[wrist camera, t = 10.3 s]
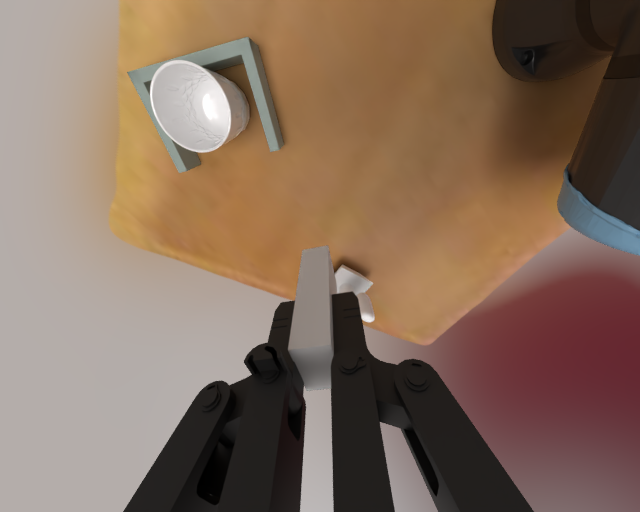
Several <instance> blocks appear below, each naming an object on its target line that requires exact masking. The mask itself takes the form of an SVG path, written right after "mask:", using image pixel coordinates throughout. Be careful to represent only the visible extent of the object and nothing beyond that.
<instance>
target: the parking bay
mask: <svg viewBox="0 0 640 512" xmlns="http://www.w3.org/2000/svg"><path fill="white" fill-rule="evenodd" d="M173 60H185V61H189V62H192V63H195V64H197V65H199V66H202V67H204V68H206V69H209V70H211V71H217V70H220V69H224V68H228V67H231V66H235V65H238V64H242V63H244V65H245V68H246V71H247V75H248V78H249V81H250V85H251V88H252V91H253V95H254V98H255V101H256V105H257V108H258V111H259V115H260V118H261V122H262V125H263V128H264V132H265V135H266V138H267V142H268V145H269V148H270V152H272V151H277V150H280V149H281V148H282V146H283V145H284V142H283V139H282V135H281V131H280V127H279V124H278V120H277V116H276V112H275V109H274V105H273V101H272V97H271V93H270V90H269V86H268V82H267V78H266V75H265V71H264V67H263V63H262V60H261V56H260V52H259V48H258V45H257V44H255V43H254V42H253V41H252V40H251V39H250V38H249V37H245V38H242V39H238V40H235V41H232V42H228V43H225V44H221V45H218V46H215V47H211V48H208V49H204V50H201V51H198V52H194V53H191V54H187V55H184V56H181V57H177V58H174V59H170V60H167V61H164V62H160V63H157V64H153V65H150V66H147V67H143V68H140V69H136V70H133V71H130V72H127V73H128V75H129V77H130V79H131V81H132V82H133V84H134V86H135V88H136V90H137V92H138V94H139V96H140V98H141V100H142V102H143V104H144V106H145V108H146V110H147V111H148V113H149V115H150V117H151V119H152V121H153V123H154V125H155V127H156V129H157V131H158V133H159V135H160V137H161V139H162V140H163V142H164V144H165V146H166V148H167V150H168V152H169V154H170V156H171V158H172V160H173V162H174V164H175V166H176V168H177V169H178V171H179V173H181V172H185V171H188V170H190V169H192V168H194V167H196V166H198V165H200V164H201V162H200V160H199V158H198V155H197V153H196V152H194V151H191V150H188V149H186V148H184V147H182V146H180V145H178V144H177V143H176V142H174V141H173V140H172V139H171V138H170V137H169V136H168V135H167V134H166V133H165V132H164V130H163V129H162V128H161V126H160V125H159V123H158V121H157V119H156V117H155V115H154V112H153V109H152V106H151V101H150V86H151V81H152V78H153V76H154V74H155V72H156V71H157V70H158V69H159V68H160V67H161V66H162V65H163V64H165V63H167V62H169V61H173Z"/></svg>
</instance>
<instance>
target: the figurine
mask: <svg viewBox="0 0 640 512" xmlns="http://www.w3.org/2000/svg"><path fill="white" fill-rule="evenodd" d="M335 278H336V285H337V294H338V293H345V292H351V291H353V293H354V294H355V295H356V296H357V298H358V300H359V306H360V312H361V318H362V319H363V320H364V321H366V322H372V321H374V319H375V316H374V311H373V307H372V303H371V300H370V298H369V296H368V295H367V294H365V292H366V291H367V290H368V289H369V288H370V287H371V285H372V284H373V283H372V282H371V281H370V280H368V279H367V278H365V277H364V276H363V275H361V274H360V273H358V272H356V271H354V270H352V269H350V268H348V267H346V266H345V265H343V264H342V265H341V266H340V267H339V269H338V270H337V271H336V272H335Z"/></svg>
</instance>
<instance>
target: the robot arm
mask: <svg viewBox="0 0 640 512" xmlns="http://www.w3.org/2000/svg"><path fill="white" fill-rule="evenodd" d="M493 42H494V48H495V52H496V55H497V58H498V60H499V62H500V64H501V65H502V67H503V68H504V69H505V70H506V72H508V73H509V74H510V75H511V76H513V77H515V78H517V79H519V80H522V81H527V82H539V81H549V80H556V79H560V78H564V77H567V76H570V75H572V74H575V73H577V72H579V71H581V70H583V69H585V68H587V67H589V66H591V65H593V64H595V63H597V62H599V61H601V60H603V59H605V58H607V57H609V56H611V55H612V58H611V60H610V63H609V66H608V68H607V71H606V73H605V76H604V78H603V80H602V82H601V85H600V87H599V90H598V93H597V95H596V98H595V100H594V103H593V105H592V108H591V111H590V113H589V116H588V118H587V121H586V124H585V126H584V129H583V131H582V134H581V137H580V139H579V142H578V144H577V146H576V149H575V151H574V154H573V156H572V159H571V161H570V163H569V164H568V165H567V167H566V169H565V171H564V175H563V177H564V181H563V184H562V188H561V191H560V194H559V197H558V201H557V207H558V211H559V213H560V214H561V216H562V217H563V218H564V219H565V221H566V223H568V224H569V225H570V226H571V227H572V228H574V229H575V230H577V231H578V232H580V233H582V234H583V235H585V236H587V237H589V238H591V239H593V240H595V241H597V242H600V243H602V244H604V245H607V246H610V247H612V248H615V249H618V250H621V251H625V252H628V253H632V254H635V255H640V0H497V3H496V7H495V12H494V19H493ZM244 363H245V365H246V366H247V368H248V369H249V371H250V372H251V374H252V375H251V376H249V377H247V378H245V379H243V380H241V381H238V382H236V383H234V384H232V385H228V384H227V383H226V382H224V381H215V382H213V383H210V384H208V385H207V386H206V387H204V388H203V389H202V390H201V391H200V392H199V394H198V395H197V396H196V398H195V399H194V401H193V402H192V404H191V406H190V407H189V409H188V410H187V412H186V413H185V415H184V417H183V418H182V420H181V421H180V423H179V424H178V426H177V428H176V429H175V431H174V432H173V434H172V435H171V437H170V439H169V440H168V442H167V444H166V445H165V447H164V448H163V450H162V451H161V453H160V454H159V456H158V458H157V459H156V461H155V463H154V464H153V466H152V467H151V469H150V470H149V472H148V473H147V475H146V477H145V478H144V480H143V481H142V483H141V484H140V486H139V488H138V489H137V491H136V492H135V494H134V496H133V497H132V499H131V500H130V502H129V504H128V505H127V507H126V508H125V510H124V511H123V512H300V500H301V483H302V466H303V447H304V431H305V414H306V413H305V412H306V406H305V405H306V404H305V400H304V398H303V388H304V386H305V388H306V390H307V391H311V390H321V389H331V402H332V403H331V406H332V453H333V498H334V499H333V500H334V512H395V510H394V505H393V499H392V493H391V487H390V481H389V475H388V469H387V464H386V457H385V452H384V446H383V440H382V434H381V428H380V422H382V423H386V424H389V425H392V426H395V427H399V428H401V431H402V433H403V435H404V437H405V439H406V442H407V444H408V446H409V448H410V450H411V453H412V455H413V457H414V459H415V461H416V463H417V466H418V468H419V470H420V472H421V475H422V476H423V479H424V481H425V483H426V486H427V488H428V490H429V492H430V494H431V497H432V499H433V501H434V503H435V505H436V507H437V510H438V512H534V511H533V510H532V508H531V507H530V505H529V504H528V503H527V501H526V500H525V498H524V497H523V495H522V494H521V493H520V491H519V490H518V488H517V487H516V485H515V484H514V483H513V481H512V480H511V478H510V477H509V475H508V474H507V472H506V471H505V470H504V468H503V467H502V465H501V464H500V462H499V461H498V459H497V458H496V457H495V455H494V454H493V452H492V451H491V450H490V448H489V447H488V445H487V444H486V442H485V441H484V440H483V438H482V437H481V435H480V434H479V432H478V431H477V429H476V428H475V427H474V425H473V424H472V422H471V421H470V419H469V418H468V416H467V415H466V414H465V412H464V411H463V409H462V408H461V406H460V405H459V404H458V402H457V401H456V400H455V398H454V396H453V395H452V394H451V392H450V391H449V389H448V388H447V387H446V385H445V384H444V382H443V381H442V379H441V378H440V377H439V375H438V373H437V372H436V371H435V370H434V369H433V368H432V367H431V366H430V365H429V364H427V363H425V362H423V361H421V360H416V359H409V360H404V361H403V362H401V363H399V364H398V365H395V364H391V363H386V362H383V361H380V360H378V359H376V358H375V357H374V356H373V355H372V354H370V352H369V350H368V349H367V346H366V341H365V335H364V329H363V323H362V318H361V312H360V306H359V300H358V298H357V296H356V295H355V294H354V293H353V291H351V292H345V293H338V294H337V285H336V278H335V274H334V270H333V265H332V261H331V256H330V252H329V247H328V246H322V247H316V248H311V249H305V250H303V251H302V257H301V264H300V271H299V278H298V284H297V291H296V298H295V301H289V302H282V303H280V305H279V306H278V308H277V309H276V311H275V314H274V318H273V322H272V326H271V331H270V335H269V339H268V343H264V344H261V345H258V346H257V347H255V348H253V349H252V350H251V351H250V352H249V354H248V355H247V356H246V358H245V360H244Z"/></svg>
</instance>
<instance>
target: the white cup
mask: <svg viewBox="0 0 640 512" xmlns="http://www.w3.org/2000/svg"><path fill="white" fill-rule="evenodd" d="M150 101H151V106H152V109H153V112H154V115H155V117H156V119H157V121H158V123H159V125H160V126H161V128H162V129H163V130H164V132H165V133H166V134H167V135H168V136H169V137H170V138H171V139H172V140H173V141H174V142H176V143H177V144H178V145H180V146H182V147H184V148H186V149H188V150H191V151H194V152H210V151H213V150H215V149H217V148H219V147H220V146H222V145H224V144H226V143H227V142H229V141H231V140H232V139H234V138H235V137H236V136H238V135H239V133H241V132H242V131H244V130H245V129H246V126H247V124H248V122H249V120H250V106H249V103H248V101H247V99H246V96H245V94H244V92H243V91H242V90H241V89H240V88H239V87H238V86H237V85H236V84H235V83H234V82H232V81H230V80H228V79H227V78H225V77H223V76H221V75H220V74H218V73H215V72H213V71H211V70H209V69H206V68H204V67H202V66H199V65H197V64H195V63H192V62H189V61H185V60H173V61H169V62H167V63H165V64H163V65H162V66H161V67H160V68H159V69H158V70H157V71H156V72H155V74H154V76H153V78H152V81H151V86H150Z"/></svg>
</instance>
